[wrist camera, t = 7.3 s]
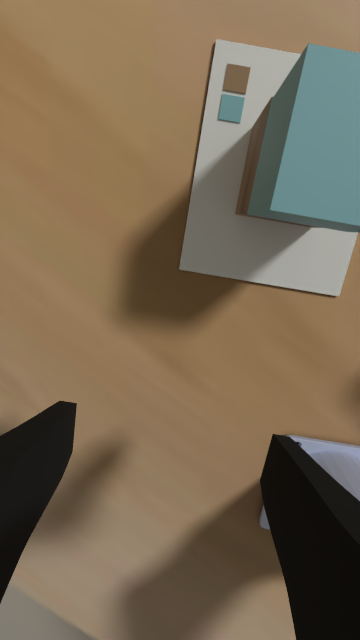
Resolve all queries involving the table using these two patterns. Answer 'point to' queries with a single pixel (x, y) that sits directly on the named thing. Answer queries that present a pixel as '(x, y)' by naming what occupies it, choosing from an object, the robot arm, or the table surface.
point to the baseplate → (225, 180)
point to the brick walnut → (254, 167)
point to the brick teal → (313, 144)
